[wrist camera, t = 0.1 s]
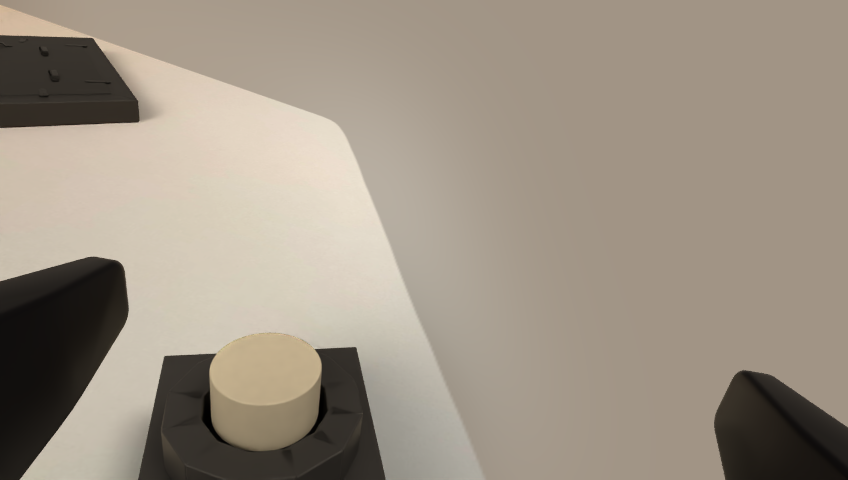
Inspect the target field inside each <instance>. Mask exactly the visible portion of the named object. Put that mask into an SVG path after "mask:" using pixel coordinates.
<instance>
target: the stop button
mask: <svg viewBox="0 0 848 480" xmlns="http://www.w3.org/2000/svg"><path fill="white" fill-rule="evenodd" d="M321 372H322V364H321V359H320V357H319V355H318V353H317V352H316V350H315V349H314V348H313V347H312V346H310V345H309V344H308V343H306V342H305V341H303V340H301V339H299V338H296V337H293V336H290V335H286V334H280V333H259V334H253V335H249V336H245V337H242V338H239V339H237V340H235V341H233V342H231V343H229V344H227V345H226V346H225V347H223V348H222V349H221V350H220V351H219V352H218V353H217V354H216V355H215V357H214V359H213V360H212V363H211V365H210V370H209V376H210V400H211V420H212V425H213V427H214V430H215V431H216V433H217V434H218V435H219V436H220V437H221V439H223V440H224V441H225V442H227V443H228V444H230V445H232V446H234V447H236V448H239V449H243V450H248V451H268V450H277V449H282V448H284V447H287V446H290V445H292V444H294V443H296V442H297V441H299V440H300V439H302V438H303V437H304V436H306V434H307V433H308V432H309V431H310V430H311V429H312V427H313V426H314V424H315V422H316V420H317V417H318V412H319V399H320V386H321Z"/></svg>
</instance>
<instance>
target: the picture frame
mask: <svg viewBox="0 0 848 480" xmlns="http://www.w3.org/2000/svg"><path fill="white" fill-rule="evenodd" d="M118 122H139V108H138V100H137V99H136V98H135V96H134V95H133V93H132V92H131V91H130V89H129V88H128V87H127V85H126V84H125V82H124V81H123V80H122V78H121V77H120V75H119V74H118V73H117V71H116V70H115V68H114V67H113V66H112V64H111V63H110V62H109V60H108V59H107V57H106V56H105V55H104V53H103V52H102V50H101V49H100V48H99V46H98V45H97V43H96V42H95V41H94V39H93V38H73V37H39V36H5V35H0V127H22V126H46V125H70V124H94V123H118Z"/></svg>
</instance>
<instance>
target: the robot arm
mask: <svg viewBox="0 0 848 480" xmlns="http://www.w3.org/2000/svg"><path fill="white" fill-rule="evenodd" d="M128 311H129V306H128V297H127V288H126V278H125V271H124V268H123V265H122V264H121V263H120V262H118V261H116V260H111V259H105V258H99V257H87V258H84V259H80V260H76V261H73V262H69V263H65V264H62V265H58V266H55V267H51V268H47V269H44V270H40V271H36V272H33V273H29V274H26V275H22V276H18V277H15V278H11V279H7V280H4V281H0V480H20V478H21V477H22V476H23V475H24V473H25V472H26V471H27V469H28V468H29V467H30V465H31V464H32V463H33V461H34V460H35V459H36V457H37V456H38V455H39V454H40V452H41V451H42V450H43V448H44V447H45V446H46V444H47V443H48V442H49V440H50V439H51V438H52V436H53V435H54V434H55V433H56V431H57V430H58V429H59V427H60V426H61V425H62V423H63V422H64V421H65V419H66V418H67V416H68V415H69V414H70V412H71V411H72V410H73V408H74V406H75V405H76V403H77V402H78V400H79V399H80V397H81V396H82V394H83V393H84V391H85V389H86V388H87V386H88V384H89V383H90V381H91V379H92V378H93V376H94V374H95V373H96V371H97V369H98V368H99V366H100V365H101V363H102V361H103V360H104V358H105V356H106V355H107V353H108V351H109V350H110V348H111V346H112V345H113V343H114V342H115V340H116V338H117V337H118V335H119V333H120V332H121V330H122V328H123V327H124V325H125V323H126V320H127V317H128ZM714 428H715V434H716V438H717V443H718V448H719V452H720V457H721V461H722V466H723V470H724V475H725V480H848V427H846V426H845V425H843V424H842V423H840V422H839V421H837V420H836V419H835V418H833V417H832V416H830V415H829V414H827V413H826V412H824V411H823V410H821V409H820V408H819V407H817V406H816V405H814V404H813V403H811V402H809V401H808V400H807V399H805V398H804V397H802V396H801V395H800V394H798V393H797V392H795V391H794V390H792V389H791V388H789V387H788V386H786V385H785V384H784V383H782V382H780V381H779V380H778V379H776V378H775V377H773V376H771V375H768V374H764V373H758V372H752V371H746V370H745V371H744V370H743V371H740V372H738V373H737V374H736V375H735V376H734V377H733V379H732V381H731V383H730V385H729V387H728V389H727V391H726V393H725V395H724V397H723V399H722V401H721V404H720V405H719V408H718V410H717V412H716V415H715V421H714Z"/></svg>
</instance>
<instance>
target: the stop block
mask: <svg viewBox="0 0 848 480" xmlns="http://www.w3.org/2000/svg"><path fill="white" fill-rule="evenodd" d="M315 350H316V352H317V353H318V355H319V357H320V359H321V364H322V372H321V386H320V399H319V412H318V417H317V420H316V422H315V424H314V426H313V427H312V429H311V430H310V431H309V432H308V433H307V434H306V436H304V437H303V438H302V439H300V440H299V441H297V442H296V443H294V444H292V445H290V446H287V447H284V448H282V449H277V450H268V451H248V450H243V449H239V448H236V447H234V446H232V445H230V444H228V443H227V442H225V441H224V440H223V439H221V437H220V436H219V435H218V434H217V433H216V431H215V430H214V427H213V425H212V420H211V400H210V376H209V370H210V365H211V363H212V360H213V359H214V357H215V355H216V354H198V355H176V356H165V357H164V360H163V365H162V370H161V374H160V379H159V384H158V389H157V393H156V398H155V403H154V407H153V412H152V417H151V422H150V426H149V431H148V436H147V441H146V445H145V450H144V455H143V459H142V464H141V469H140V474H139V478H138V480H386V479H385V475H384V470H383V466H382V461H381V457H380V452H379V448H378V443H377V439H376V434H375V430H374V425H373V421H372V416H371V412H370V407H369V403H368V398H367V394H366V389H365V385H364V380H363V376H362V371H361V367H360V362H359V358H358V353H357V349H356V347H351V348H329V349H315Z"/></svg>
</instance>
